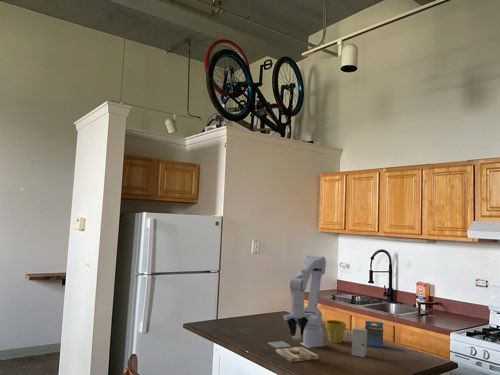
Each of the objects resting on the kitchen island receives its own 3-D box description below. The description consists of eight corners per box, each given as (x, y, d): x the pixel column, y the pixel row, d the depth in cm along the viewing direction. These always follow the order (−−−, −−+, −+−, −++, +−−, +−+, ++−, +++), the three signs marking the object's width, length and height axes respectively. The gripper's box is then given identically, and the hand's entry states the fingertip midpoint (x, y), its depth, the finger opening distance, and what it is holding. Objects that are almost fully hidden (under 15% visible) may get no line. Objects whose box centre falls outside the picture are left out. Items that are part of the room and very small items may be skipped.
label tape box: (382, 345, 212) (383, 320, 214) (383, 347, 209) (383, 322, 210) (364, 343, 215) (365, 319, 216) (364, 345, 211) (365, 320, 212)
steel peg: (297, 337, 194) (297, 324, 194) (302, 339, 190) (302, 325, 191) (290, 338, 192) (290, 324, 192) (295, 340, 188) (295, 326, 189)
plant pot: (345, 345, 210) (346, 325, 211) (324, 343, 213) (325, 323, 213) (345, 339, 221) (345, 320, 221) (325, 338, 223) (325, 319, 224)
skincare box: (351, 355, 194) (351, 328, 195) (353, 352, 198) (354, 326, 199) (364, 357, 191) (364, 330, 192) (367, 355, 195) (367, 328, 196)
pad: (282, 342, 211) (282, 341, 211) (291, 347, 203) (291, 346, 203) (266, 343, 208) (266, 342, 208) (275, 348, 200) (275, 347, 200)
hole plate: (301, 349, 199) (301, 346, 199) (318, 358, 186) (318, 355, 187) (275, 352, 194) (275, 349, 194) (290, 362, 181) (290, 358, 181)
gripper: (304, 302, 199) (303, 331, 198) (279, 304, 192) (279, 334, 190) (314, 304, 193) (313, 334, 192) (289, 306, 186) (288, 338, 184)
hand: (296, 334), depth 191 cm, fingers closed on steel peg, 4 cm apart
